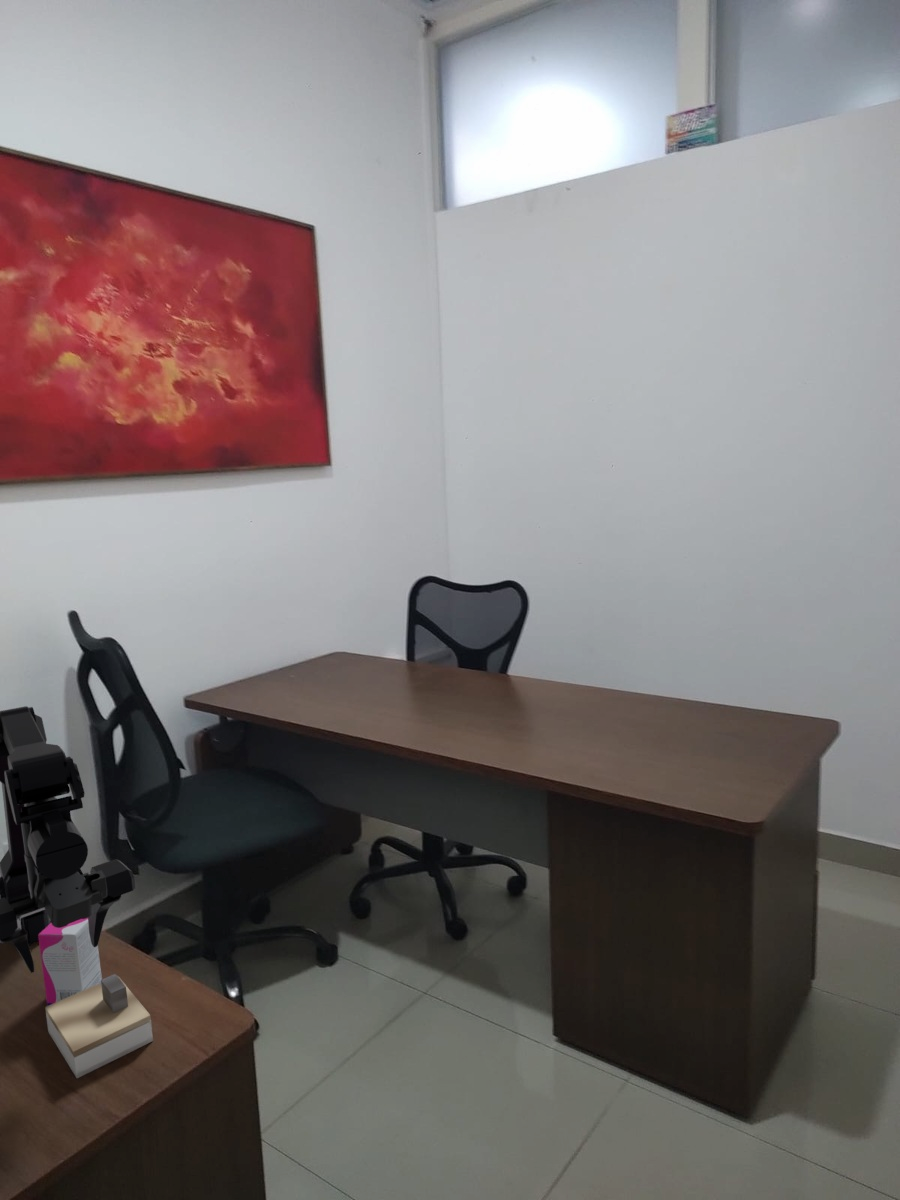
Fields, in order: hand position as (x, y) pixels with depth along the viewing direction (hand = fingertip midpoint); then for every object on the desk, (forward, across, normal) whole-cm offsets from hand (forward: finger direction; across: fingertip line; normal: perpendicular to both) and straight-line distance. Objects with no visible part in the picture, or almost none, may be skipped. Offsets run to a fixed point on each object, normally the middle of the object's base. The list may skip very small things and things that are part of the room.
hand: (63, 958), depth 110 cm
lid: (+10, +3, 0) cm, 11 cm away
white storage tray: (+13, +3, 0) cm, 14 cm away
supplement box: (+13, +4, +12) cm, 18 cm away
